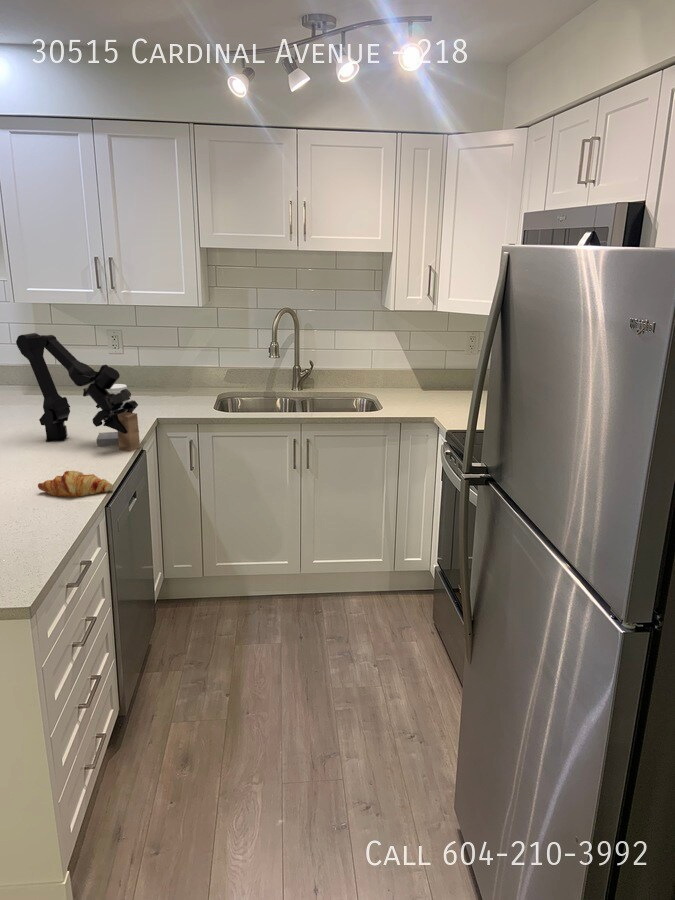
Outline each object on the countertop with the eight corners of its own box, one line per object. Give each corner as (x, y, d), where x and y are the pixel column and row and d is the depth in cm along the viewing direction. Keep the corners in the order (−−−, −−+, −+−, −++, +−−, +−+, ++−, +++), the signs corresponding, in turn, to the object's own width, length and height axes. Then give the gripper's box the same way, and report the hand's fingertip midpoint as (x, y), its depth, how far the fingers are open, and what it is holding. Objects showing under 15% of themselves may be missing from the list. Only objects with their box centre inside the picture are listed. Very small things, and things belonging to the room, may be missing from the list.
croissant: (116, 499, 194) (117, 472, 196) (108, 495, 184) (109, 467, 186) (42, 500, 192) (44, 473, 194) (30, 496, 182) (32, 467, 184)
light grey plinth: (97, 446, 233) (96, 439, 232) (99, 439, 241) (99, 432, 240) (123, 444, 235) (122, 438, 234) (125, 437, 243) (124, 431, 242)
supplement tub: (117, 425, 260) (113, 389, 255) (100, 422, 264) (96, 386, 260) (135, 420, 268) (132, 385, 263) (118, 417, 272) (115, 382, 268)
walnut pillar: (119, 449, 229) (116, 415, 225) (128, 446, 233) (125, 412, 230) (131, 451, 227) (128, 416, 223) (140, 447, 232) (137, 413, 228)
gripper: (95, 388, 216) (126, 423, 216) (131, 378, 233) (159, 410, 233) (79, 409, 221) (109, 443, 221) (115, 397, 238) (143, 429, 238)
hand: (131, 431), depth 228 cm, fingers closed on walnut pillar, 5 cm apart
